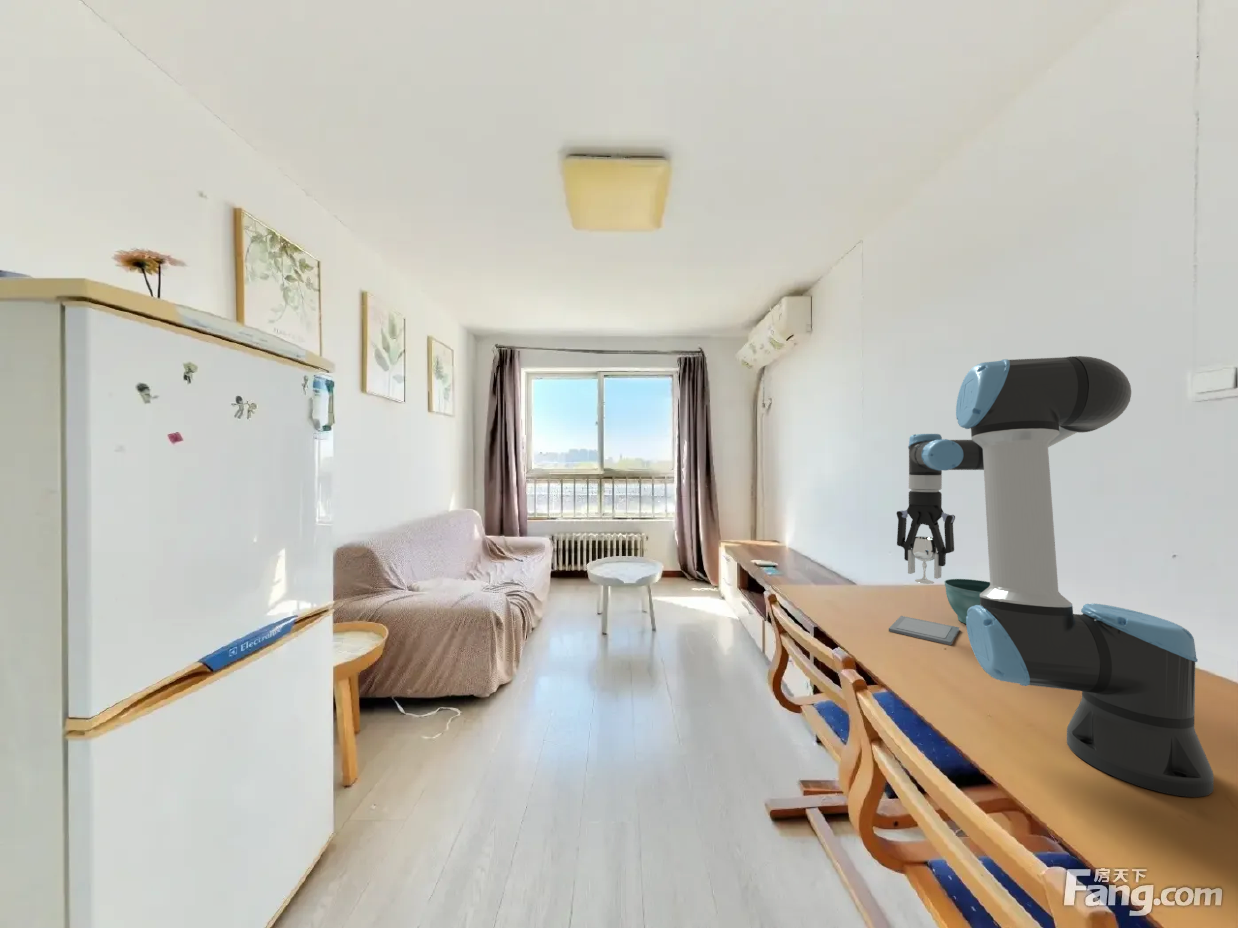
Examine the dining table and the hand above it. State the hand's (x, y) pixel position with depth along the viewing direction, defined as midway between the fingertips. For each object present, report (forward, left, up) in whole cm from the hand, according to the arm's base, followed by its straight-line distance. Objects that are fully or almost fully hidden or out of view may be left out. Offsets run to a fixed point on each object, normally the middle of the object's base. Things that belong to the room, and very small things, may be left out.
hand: (924, 575), depth 127 cm
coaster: (0, 0, -15) cm, 15 cm away
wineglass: (0, 0, -2) cm, 2 cm away
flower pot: (+19, -7, -16) cm, 25 cm away
